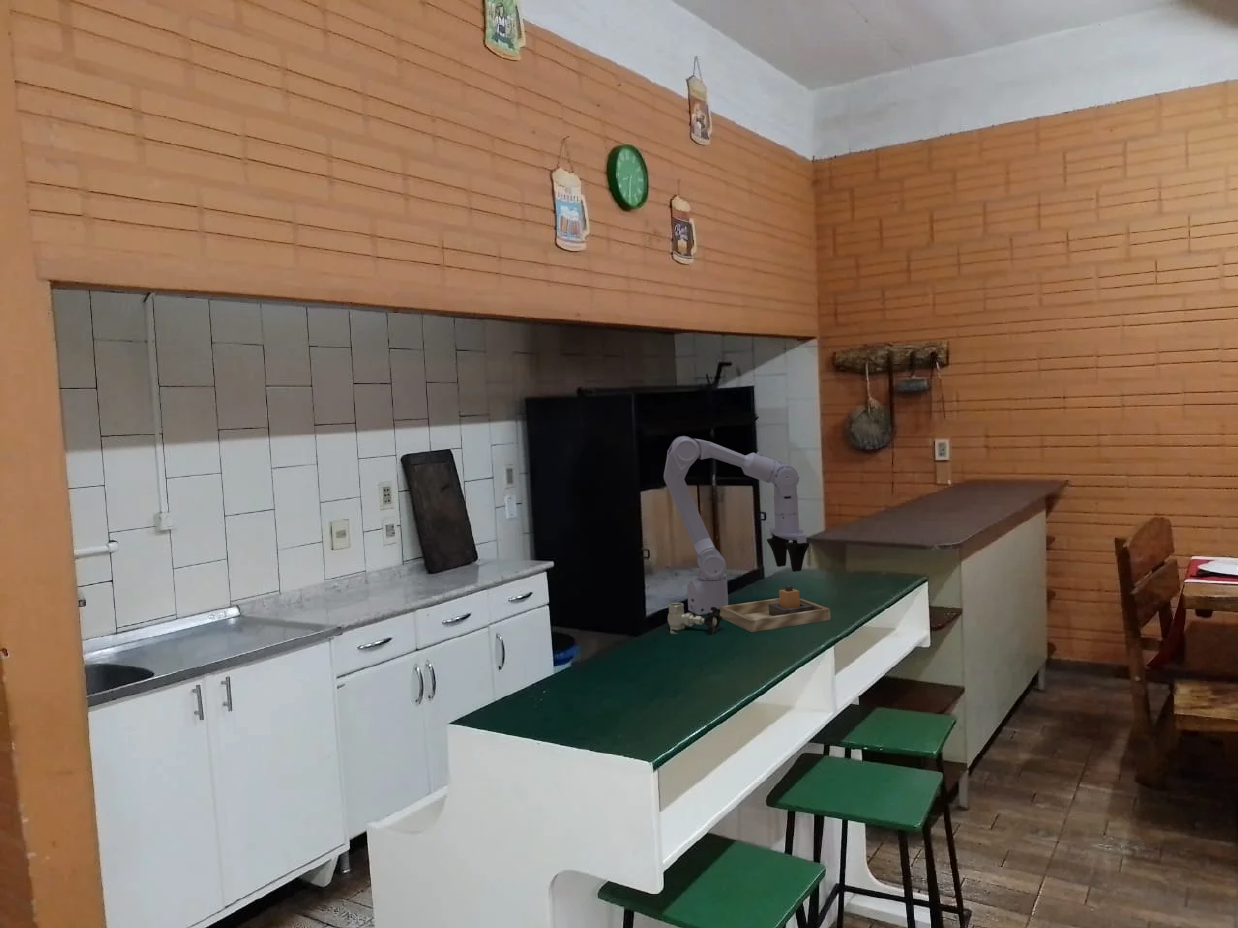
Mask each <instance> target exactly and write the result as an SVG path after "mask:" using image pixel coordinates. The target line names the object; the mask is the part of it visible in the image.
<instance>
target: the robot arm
mask: <svg viewBox="0 0 1238 928" xmlns="http://www.w3.org/2000/svg"><path fill="white" fill-rule="evenodd" d="M666 453H667V454H666V461H665V467H664V471H663V480H664V483H665V484H666V487H667V489H668V491H669V494H670V496H671V498H672V501H673V503H674V505H675V507H676V509H677V511H678V514H679V516H680V518H681V521H682V522H683V524H684V527H685V530H686V532H687V534H688V537H689V539H690V541H691V543H692V546H693V548H694V550H695V553H696V563H697V567H698V568H699V569H700V571H699V573H698V574H697V575H696V579H693V580H690V581H688V583H687V593H686V594H687V608H688V611H689V612H690V613H692V614H693V613H694V614H695V615H696V616H700V615H707V613H708V612H710V613H712V612H713V611H712V610H711V607H716V608H717V609H720V607H721V606H728V605H729V597H728V596H729V595H728V577H727V574H726V570H727V562H726V560H725V558H724V557H723V556H722V554H721V552H720V551H719V550H718V549H717V548H716V546H715V545H714V543H713V541H712V539H711V537H710V535H709V532H708V529H707V528H706V525H705V524H704V520H703V519H702V517H701V514H700V512H699V510H698V507H697V505H696V503H695V501H694V498H693V496H692V494H691V491H690V490H689V489H690V488H689V487H688V485H687V483H686V481H685V479H686V475H688V472H689V469H690V467H691V466H692V465H693V464H694V463H695V462H696V461H697V459H699V460H705V459H715V460H718V461H721V462H724V463H728V464H730V465H734V466H737V467H740V468H741V470H742V472H743V475H745V476H748V477H751V478H754V479H756V480H758V481H762V482H764V483H767V484H771V483H772V484H773V507H774V508H773V510H774V527H772V528H769V537H771V538H767V539H766V541H767V543H768V545H769V547H770V549H771V551H772V553H773V557H774V561H775V564H776V567H778V568H780V567H787V566H786V565H787V552H788V555H789V560H790V567H791V568H790V569H791V571H792V572H795V573H796V572H801V571H802V569H803V564H804V559H805V556H806V553H807V551H808V548H809V547H810V542H809V541H807V534H805V533H804V529H800V523H799V522H800V520H799V502H798V501H799V499H798V492H797V489H798V488H797V485H798V484H799V482H800V476H799V474H798V471H797V470H796V469H795V467H793V466H791V465H788V464H786V463H785V462H784V463H783V462H782V460H780V459H779V458H778V459H776V460H775V459H772V458H769V457H766V456H765V455H764V453H763V452H759V451H758V452H756V453H755V452H751V453H748V454H746V455H744V454H742V453H739V452H737V451H735V450H733V449H730V448H727V447H724V446H722V445H720V444H717V443H714V442H712V441H709V440H708V441H707V440H704V439H698V438H691V437H689V436H686V435H682V436H678V437H676V438H674V440H673V441H672V442H671V444H670V446H669V448H668V449H667V452H666ZM790 541H792V542H790Z"/></svg>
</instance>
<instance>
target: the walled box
mask: <svg viewBox="0 0 1238 928" xmlns="http://www.w3.org/2000/svg"><path fill="white" fill-rule="evenodd" d="M719 616H722V620H724V621H727V622H730V623H732V624H733V625H736V626H737V627H740V628H742V629H743V630H746V631H748V632H750V633H755V632H761V631H768V630H774V629H781V628H789V627H793V626H794V627H795V626H799V625H800V626H801V625H805V624H806V625H807V624H813V623H819V622H825V621H831V609H830V608H829V607H826V606H823V605H820V604H818V603H815V602H812V601H809V600H807V599H804V598H801V597H800V607H794V608H785V607H782V606H780V601H779V598H778V597H777V598H776V597H775V598H770V599H764V600H758V601H750V602H743V603H736V604H735V603H734V604H728V606H721V607H720V614H719Z"/></svg>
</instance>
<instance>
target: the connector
mask: <svg viewBox="0 0 1238 928" xmlns="http://www.w3.org/2000/svg"><path fill="white" fill-rule="evenodd" d="M778 595H779V596H778V597H779V601H780V606H782V607H785V608H794V607H800V598H801V597H800V590H797V589H794V586H793V584H785V585H784V589H779V590H778Z"/></svg>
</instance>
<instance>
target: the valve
mask: <svg viewBox="0 0 1238 928" xmlns="http://www.w3.org/2000/svg"><path fill="white" fill-rule="evenodd" d="M684 608H685V605H684V603H682V602H671V603H668V613H667V623H668V625H669V629H670V630H669V632H670V634H672V635H678V633H677V632H675V631H681V630H686V629H685V627H693V625H694V624H696V625H698V626H699V625H703V624H704V626H705V627H706V628H707V630H708V631H707V634H708V635H713V634H714V633H717V632H718V630H719V631H720V630H722V626H721V624H720V623H721V622H722V621H723V618H722V616H720V609H717V608H716V607H711V610H712V611H713V612H712V613H710V612H708V613H707V614H706V615H705V616H704V617H703V616H700V615H694V614H693V612H687V613H685V609H684ZM714 626H715V627H714Z"/></svg>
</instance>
